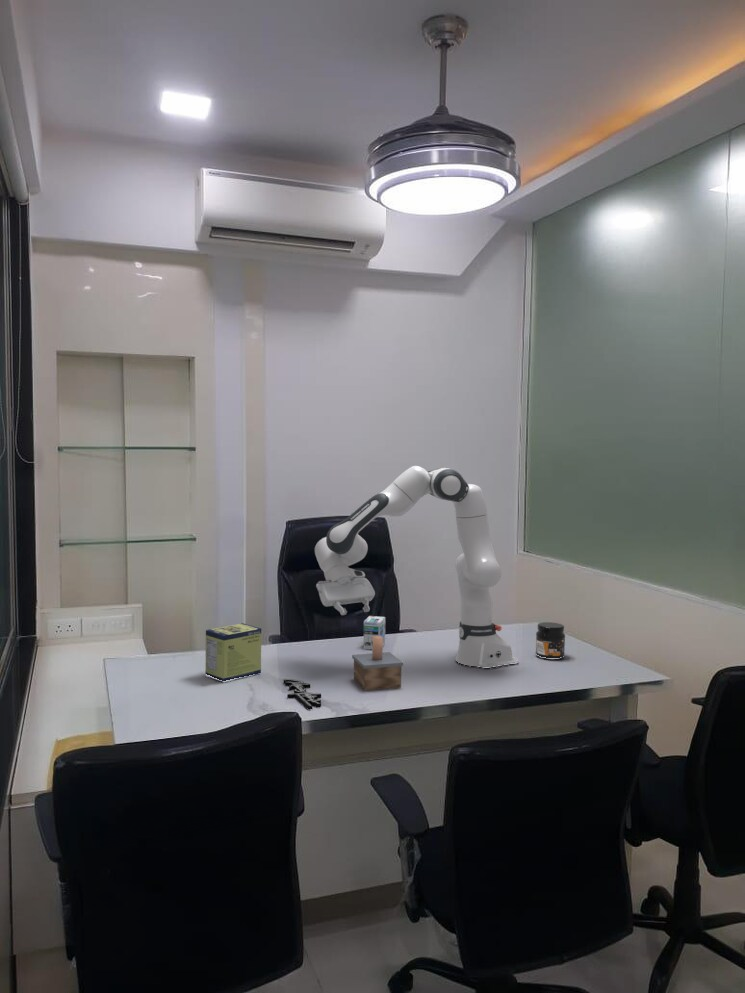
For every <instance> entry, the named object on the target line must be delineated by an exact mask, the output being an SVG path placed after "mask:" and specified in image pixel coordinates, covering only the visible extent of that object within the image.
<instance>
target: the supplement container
mask: <svg viewBox="0 0 745 993" xmlns="http://www.w3.org/2000/svg"><path fill="white" fill-rule="evenodd" d="M535 636H536V639H535V655H536V654H537V655H539V656H541V657H546V658H560V657H563V656H564V657H565V655H566V654H565V653H566V652H565V650H566V648H565V647H566V634H565V625H564V624H562V623H558V622H549V621H545V622H539V623H538V624H537V631H536V633H535ZM537 655H536V656H537Z"/></svg>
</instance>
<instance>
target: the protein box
mask: <svg viewBox="0 0 745 993" xmlns="http://www.w3.org/2000/svg"><path fill="white" fill-rule="evenodd" d="M204 671H205V674H207V675H210V676H212V677H214V678H217V679H219V680H222V681H226V680H230V679H234V678H239V677H244V676H249V675H253V674H258V673H261V674H262V628H261V627H257V626H254V625H250V624H247V623H243V622H242V623H237V624H231V625H226V626H221V627H215V628H209V629H206V630H205V670H204ZM258 675H259V674H258Z"/></svg>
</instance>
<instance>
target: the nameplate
mask: <svg viewBox="0 0 745 993" xmlns="http://www.w3.org/2000/svg"><path fill="white" fill-rule="evenodd" d="M283 684H284V686H285V687H289V688H288V691H290V692H291V690H292V691H293V693H292V692H291V693H287V697H286V698H287V699H288V698H289V699H296V700H297V701H298V703H300V704H301V703H302V704H303V705H304V708H306V709H307V708H308V709H312V710H313V707H315V706H316V707H315V708H317V707H321V708H322V701H321V698H322V693H319V692H308V691H307V689H311V683H309V682H305V681H302V680H299V679H293V678H285V679H283ZM302 704H301V705H302ZM303 705H302V706H303ZM308 709H307V710H308Z"/></svg>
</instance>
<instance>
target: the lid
mask: <svg viewBox="0 0 745 993" xmlns="http://www.w3.org/2000/svg"><path fill="white" fill-rule="evenodd" d="M383 647H384V646H383V637H382V636H373V650H372V653H358V654H357V653H356V654H352V655H351V657H352V658H351V659H352V660H353V661H354V660H355V661H356V662H357V663H358V664H360V665H361V666H362V667H363V668H364V669H368V668H381V667H393V666H401V667H403V666H404V662H403V661H402V660H401V659H399V658H398V657H397V656H396V655H394V654H393V653H392V652H390V651H387V652H383Z"/></svg>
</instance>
